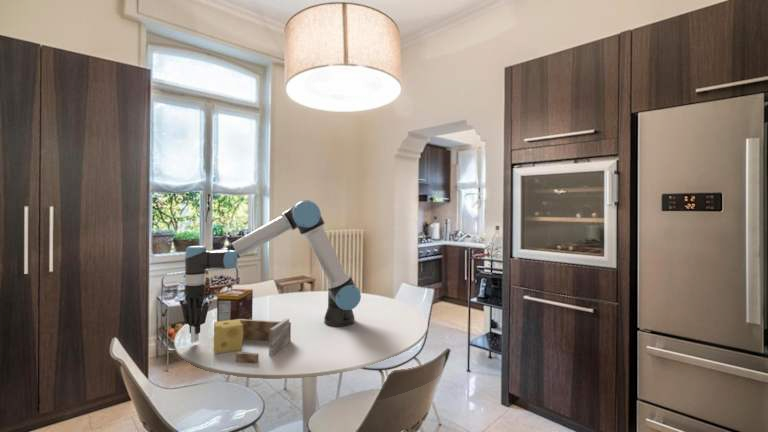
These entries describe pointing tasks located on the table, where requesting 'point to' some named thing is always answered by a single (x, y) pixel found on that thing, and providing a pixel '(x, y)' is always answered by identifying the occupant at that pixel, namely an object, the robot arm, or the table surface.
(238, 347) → the cheese
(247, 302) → the supplement box
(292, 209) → the robot arm
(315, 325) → the table surface
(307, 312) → the table surface
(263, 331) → the shelf
